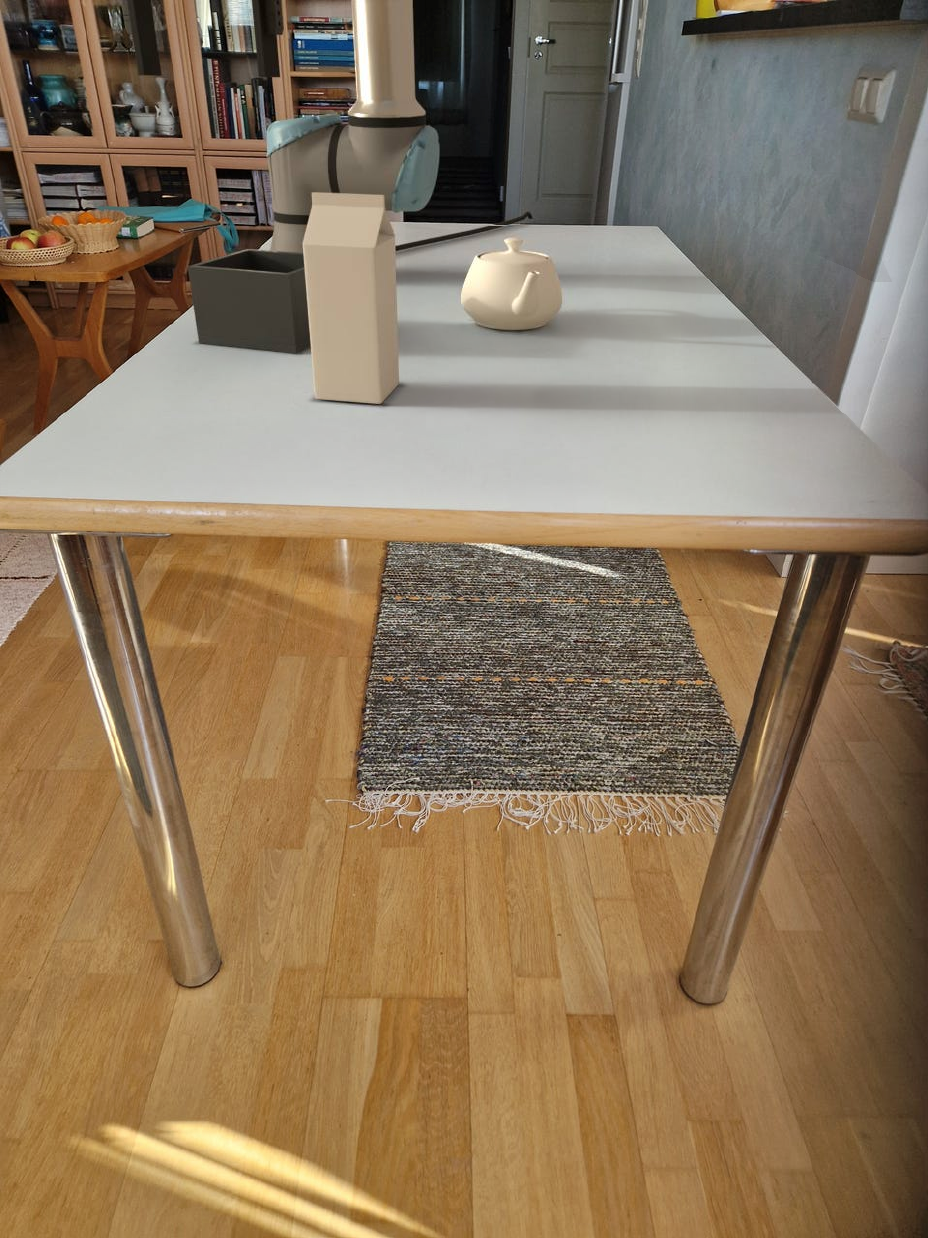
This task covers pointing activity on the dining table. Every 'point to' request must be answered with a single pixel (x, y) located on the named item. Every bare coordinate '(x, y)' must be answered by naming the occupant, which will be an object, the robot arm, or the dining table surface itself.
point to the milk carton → (351, 297)
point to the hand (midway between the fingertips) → (208, 76)
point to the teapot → (512, 289)
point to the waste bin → (252, 301)
